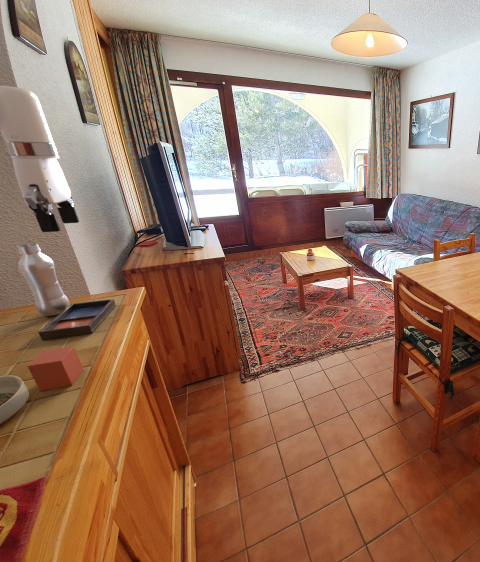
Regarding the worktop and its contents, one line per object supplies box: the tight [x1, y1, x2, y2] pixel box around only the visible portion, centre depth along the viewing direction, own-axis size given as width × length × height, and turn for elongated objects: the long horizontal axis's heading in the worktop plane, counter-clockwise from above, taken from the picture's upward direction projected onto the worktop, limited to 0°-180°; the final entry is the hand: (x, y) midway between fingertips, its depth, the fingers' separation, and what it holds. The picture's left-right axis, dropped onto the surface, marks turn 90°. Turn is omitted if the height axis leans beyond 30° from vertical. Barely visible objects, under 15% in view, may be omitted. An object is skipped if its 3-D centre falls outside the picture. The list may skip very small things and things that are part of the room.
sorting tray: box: [37, 298, 117, 342], centre depth 83 cm, size 10×16×2 cm, turn 20°
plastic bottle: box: [17, 243, 71, 317], centre depth 84 cm, size 6×7×20 cm
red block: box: [26, 346, 85, 392], centre depth 62 cm, size 5×5×6 cm
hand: (62, 226), depth 76 cm, fingers open, 9 cm apart
